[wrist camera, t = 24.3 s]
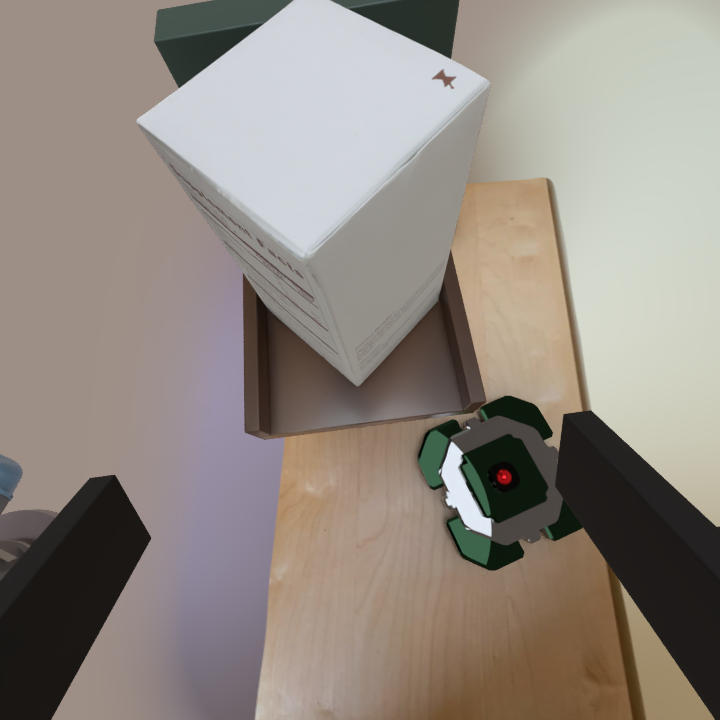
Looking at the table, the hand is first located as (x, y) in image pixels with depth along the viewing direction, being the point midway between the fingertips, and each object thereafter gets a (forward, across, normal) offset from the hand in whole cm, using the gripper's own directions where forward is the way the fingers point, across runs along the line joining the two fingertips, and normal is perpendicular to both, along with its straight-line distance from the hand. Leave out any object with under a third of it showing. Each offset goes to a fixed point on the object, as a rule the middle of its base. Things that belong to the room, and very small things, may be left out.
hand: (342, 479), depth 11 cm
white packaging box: (+13, -1, -1) cm, 13 cm away
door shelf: (+19, -1, +5) cm, 20 cm away
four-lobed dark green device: (+28, -16, +30) cm, 44 cm away
